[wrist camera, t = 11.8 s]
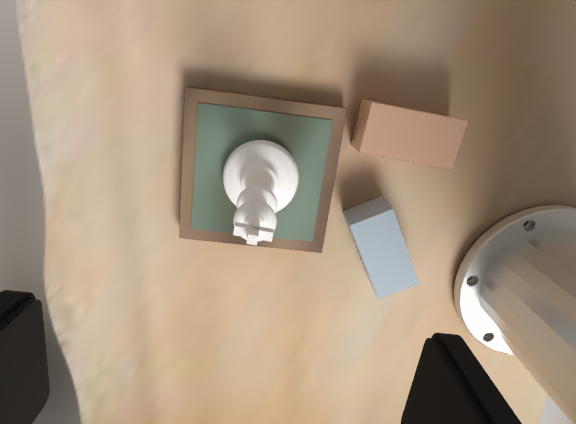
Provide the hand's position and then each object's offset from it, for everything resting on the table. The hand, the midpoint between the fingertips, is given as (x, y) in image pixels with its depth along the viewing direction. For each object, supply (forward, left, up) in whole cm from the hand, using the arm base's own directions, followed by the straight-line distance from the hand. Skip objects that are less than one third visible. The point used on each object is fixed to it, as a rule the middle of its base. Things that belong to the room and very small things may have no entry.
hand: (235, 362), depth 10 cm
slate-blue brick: (-9, +4, -19) cm, 21 cm away
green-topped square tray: (0, 0, -18) cm, 18 cm away
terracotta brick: (-9, -4, -19) cm, 21 cm away
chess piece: (0, 0, -17) cm, 17 cm away
